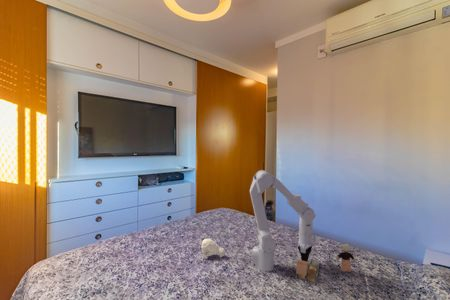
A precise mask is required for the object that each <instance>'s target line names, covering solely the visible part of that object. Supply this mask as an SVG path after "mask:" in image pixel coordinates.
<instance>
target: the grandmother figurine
mask: <svg viewBox="0 0 450 300" xmlns="http://www.w3.org/2000/svg"><path fill="white" fill-rule="evenodd" d="M341 249H342V252H339V253H338V254H337V256H336V261H339V260H340V259H341V271H342V272H344V273H346V272H347V273H351V272H352V263H351V260H352V262H353V263H356V260H355V257H354V255H353V254H352V253H351V252H350V250H351V247H350V245H349V243H343V244H342V245H341Z"/></svg>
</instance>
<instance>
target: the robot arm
mask: <svg viewBox="0 0 450 300" xmlns="http://www.w3.org/2000/svg"><path fill="white" fill-rule="evenodd" d="M270 187H271V188H272V189H273V188H274V189H276V190H277V191H278V192H279V193H280V194H282V196H284V198H286V202H287V205H289V207H291V208H292V209H293V210H294V211H295V212H296V213H297V215H299V223H298V246H297V249H298V252H299V254H300V258H301V259H300V260H302V261H306V262H307V261H308V260H309V256H310V254H311V251H312V249H313V247H315V245H316V243H315V242H313V227H314V225H313V223H314V219H315V218H316V216H317V215H316V213H315V210H314V209H313V208H311V207H310V206H309V203H308V202H305V201H304V200H303V199H302V196H301V195H300V194H296V193H292V192H291V191H290V190H289V189H288V188H287V187H286V186H285V185H284V184H283V182H281V181H280V180H279V178H277V177H276V176H274V175H273V174H272V173H270V172H267V171H266V170H264V169H260V170H258V171H257V172H256V173H255V174H254V176H253V177H252V181H251V184H250V189H249V194H250V199H251V204H252V207H253V213H254V216H255V217H254V218H255V222H256V225H257V237H256V238H257V241H258V243H259V244H258V246H257V245H256V246H254V247H253V249H252V253H251V267H250V269H251V270H254V268H255V269H258V270H260V271H262V272H271V271H273V270H274V268H275V266H274V265H275V249H276V247H277V245H276V241H275V240H274V238H273V236H272V232H271V230H270V226H269V223H268V218H267V214H266V210H265V209H266V208H265V206H264V201H263V197H262V196H263V195H262V194H263V193H264V192H265V191H266V190H267V189H269V188H270Z"/></svg>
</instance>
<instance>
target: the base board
mask: <svg viewBox="0 0 450 300" xmlns="http://www.w3.org/2000/svg"><path fill="white" fill-rule="evenodd" d="M310 264H312V265H316V266H317V271H316V277H315V282H312V281H308V280H307V276H308V272H307V276H305V279H303V278H300V277H298V274H297V273H296V274H295V278H296V279H299V280H303V281H306V282H309V283H313V284H317V281H318V276H319V270H320V269H319V268H320V264H321V261H314V260H312V259H311V258H310V259H308V268H310Z"/></svg>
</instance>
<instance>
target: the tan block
mask: <svg viewBox="0 0 450 300" xmlns="http://www.w3.org/2000/svg"><path fill="white" fill-rule="evenodd" d="M316 271H317V266H316V265H312V264H310V268H308V276H307V280H308V281H307V282H309V281H312V282H311V283H313V282H315V277H316Z"/></svg>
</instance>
